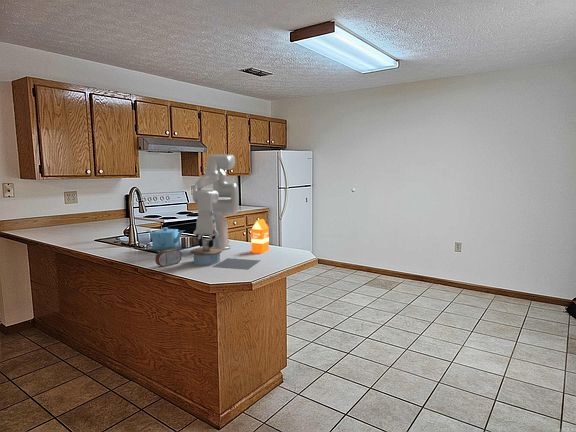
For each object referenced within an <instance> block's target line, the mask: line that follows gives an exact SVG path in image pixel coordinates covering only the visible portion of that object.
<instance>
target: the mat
mask: <svg viewBox="0 0 576 432" xmlns="http://www.w3.org/2000/svg"><path fill="white" fill-rule="evenodd" d="M259 262H261V259H260V260H258V259H244V258H243V259H242V258H232V257H231V258H229V257H228V258H226V259H224V260H222V261H220V262H218V263H216V264H213V266H212V268H218V269H219V268H220V269H222V268H223V269H231V270H232V269H234V270H250V269H252V267H254V266H256V265H257V264H259Z"/></svg>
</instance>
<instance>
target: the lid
mask: <svg viewBox="0 0 576 432" xmlns="http://www.w3.org/2000/svg"><path fill="white" fill-rule="evenodd" d="M202 239H203V240H202V244H203V246H202V247H197V248H196V247H195V248H193V249H191V250H190V254H191V255H193V254H194V255H214V254H219V253H220V254H221V253H222V252H223V250H222V249H220V248H215V247H211V248H210V247H209V240H210V238H202Z"/></svg>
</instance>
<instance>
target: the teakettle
mask: <svg viewBox="0 0 576 432" xmlns="http://www.w3.org/2000/svg"><path fill="white" fill-rule="evenodd" d="M145 231H146V232H148V233H149V235H150V239H151V240H152V241H151V242H152V243H151V244H152V250H153V251H157V252H156V253H158V252H159V251H162V250H168V249H177V248H178V247H179V246H180V243H179V242H180V240H181V236H182V234H183V233H184V232H185V231H186V229H185V230H179V229H178V228H169V227H168V226H165V227H162V228H159V229H157V230H155V231H152V230H150V229H146V230H145Z"/></svg>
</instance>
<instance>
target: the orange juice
mask: <svg viewBox="0 0 576 432" xmlns="http://www.w3.org/2000/svg"><path fill="white" fill-rule="evenodd" d="M269 229H270V228H269V226H268V224H267V222H266V221H265V219H264V218H261V219H256V221H255V222H254V224H253V225H252V228H251V230H250V232H251V233H250V234H251V236H250V237H251V238H250V240H251V242H250V243H251V253H254V254H265V253H267V252H269V251H270V233H269V232H270V230H269Z"/></svg>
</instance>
